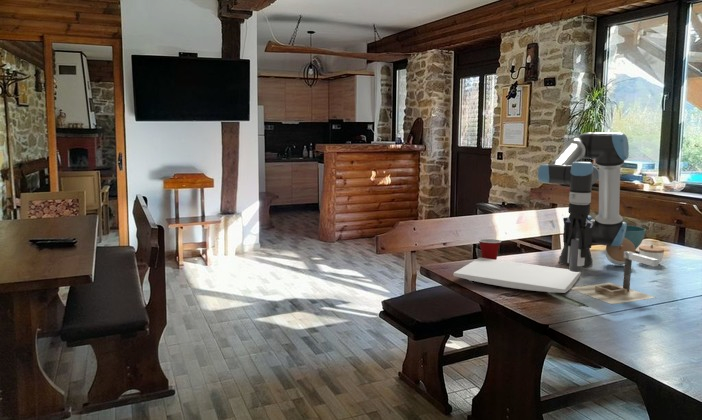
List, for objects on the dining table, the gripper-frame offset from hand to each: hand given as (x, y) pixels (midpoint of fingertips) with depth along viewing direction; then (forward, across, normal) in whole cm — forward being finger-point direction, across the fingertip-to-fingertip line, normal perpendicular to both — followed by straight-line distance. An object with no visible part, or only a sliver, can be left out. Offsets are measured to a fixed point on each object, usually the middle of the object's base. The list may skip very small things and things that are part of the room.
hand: (575, 264), depth 212 cm
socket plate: (+14, +2, +17) cm, 22 cm away
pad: (+14, 0, 0) cm, 14 cm away
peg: (+3, 0, 0) cm, 3 cm away
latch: (-1, +7, +25) cm, 26 cm away
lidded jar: (+14, -30, +76) cm, 83 cm away
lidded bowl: (+11, -36, +60) cm, 71 cm away
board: (+15, -28, -4) cm, 32 cm away
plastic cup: (+14, -58, +3) cm, 60 cm away
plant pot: (+14, -56, +88) cm, 105 cm away
